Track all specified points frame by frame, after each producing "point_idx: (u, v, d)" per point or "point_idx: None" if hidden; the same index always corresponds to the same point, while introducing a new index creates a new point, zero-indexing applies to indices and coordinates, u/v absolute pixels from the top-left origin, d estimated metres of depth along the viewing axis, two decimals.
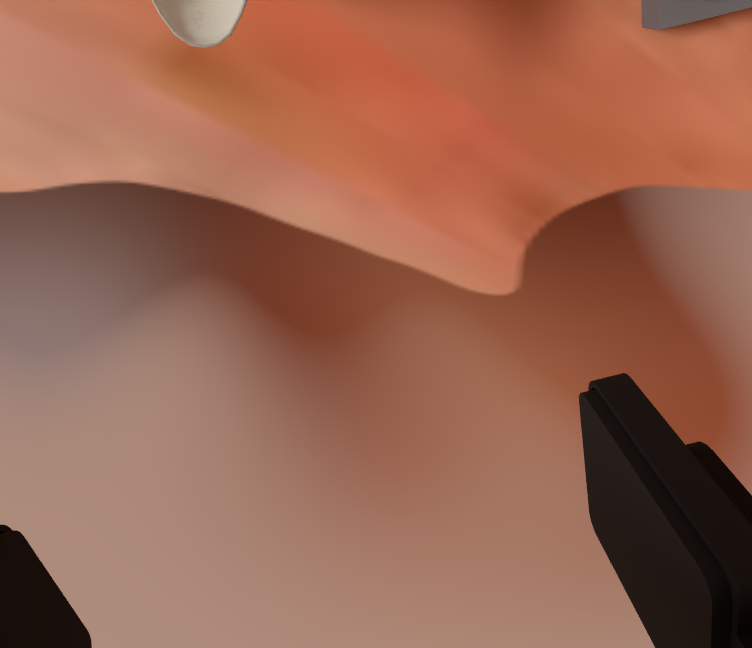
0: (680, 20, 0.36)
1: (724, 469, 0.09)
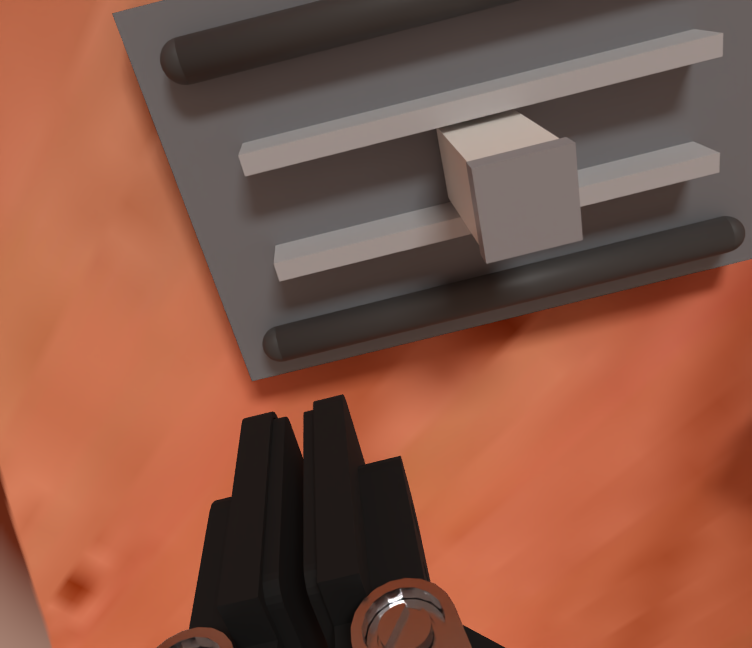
0: (131, 46, 0.24)
1: (405, 480, 0.10)
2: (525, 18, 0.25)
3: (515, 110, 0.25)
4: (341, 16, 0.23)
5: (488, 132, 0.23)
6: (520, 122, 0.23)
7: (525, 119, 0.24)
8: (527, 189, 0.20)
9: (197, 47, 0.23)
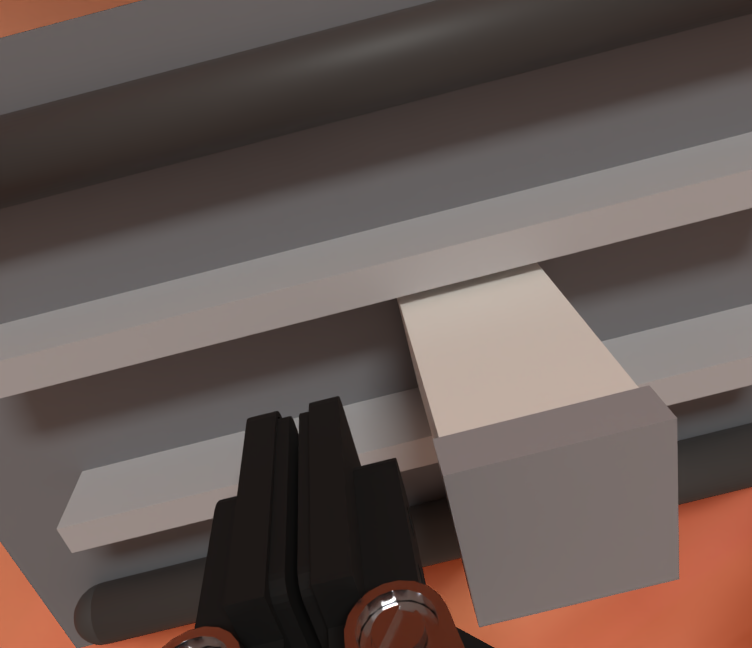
0: None
1: (400, 482, 0.10)
2: (484, 111, 0.14)
3: None
4: (119, 126, 0.12)
5: (483, 320, 0.12)
6: (543, 298, 0.12)
7: (552, 289, 0.13)
8: (566, 504, 0.09)
9: None
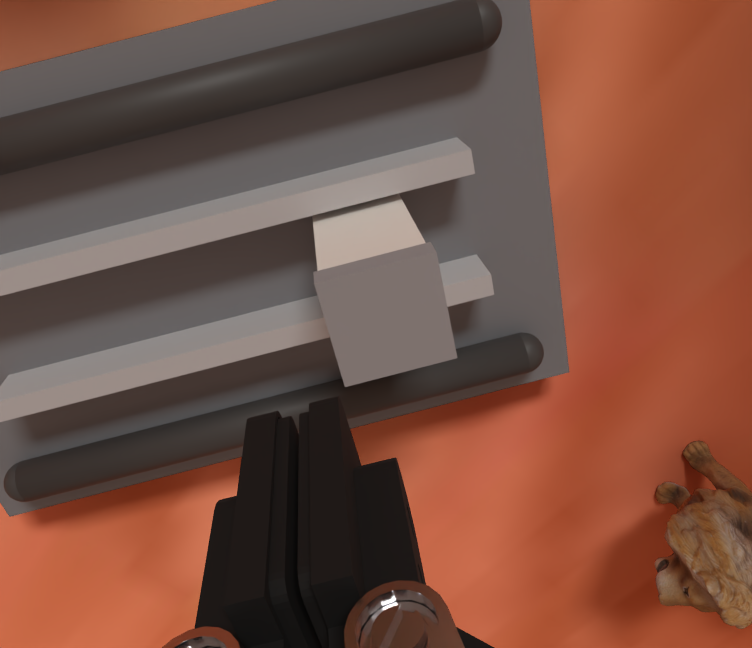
0: None
1: (400, 482, 0.10)
2: (257, 129, 0.22)
3: (398, 194, 0.22)
4: (17, 138, 0.20)
5: (358, 225, 0.20)
6: (396, 212, 0.20)
7: (402, 208, 0.21)
8: (384, 304, 0.17)
9: None
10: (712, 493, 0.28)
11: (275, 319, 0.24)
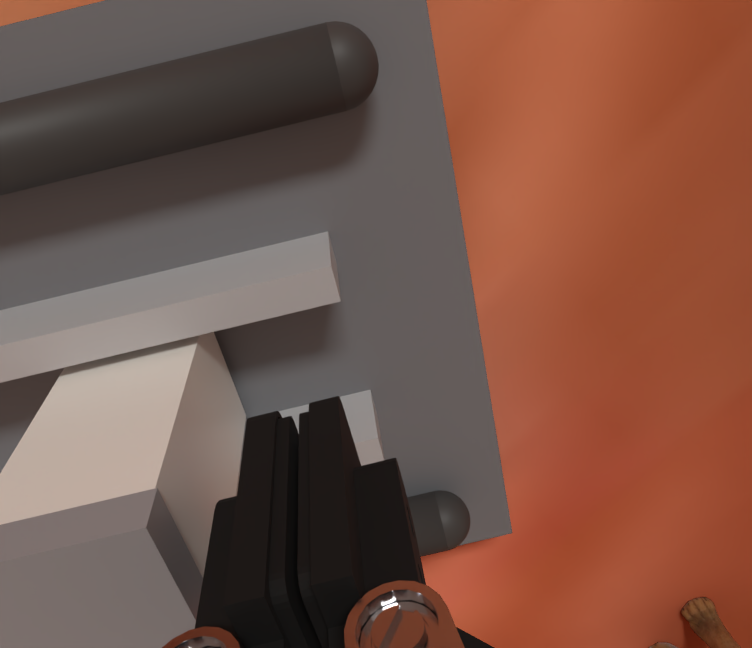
0: None
1: (400, 482, 0.10)
2: (11, 221, 0.14)
3: None
4: None
5: (105, 400, 0.13)
6: (169, 378, 0.13)
7: (184, 368, 0.13)
8: (67, 604, 0.10)
9: None
10: None
11: None
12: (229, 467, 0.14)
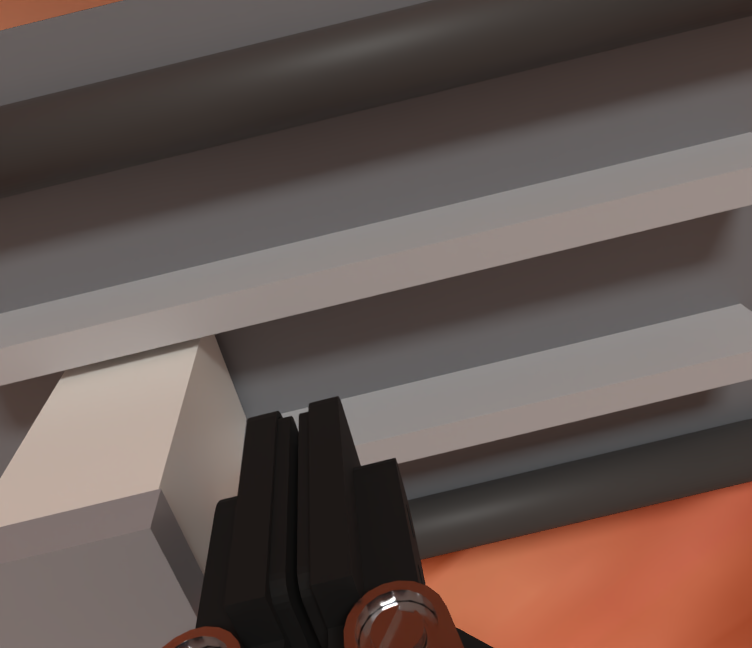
0: None
1: (400, 482, 0.10)
2: (456, 116, 0.14)
3: None
4: (94, 124, 0.12)
5: (106, 402, 0.13)
6: (171, 380, 0.13)
7: (186, 371, 0.13)
8: (70, 605, 0.10)
9: None
10: None
11: (456, 398, 0.16)
12: (229, 469, 0.14)
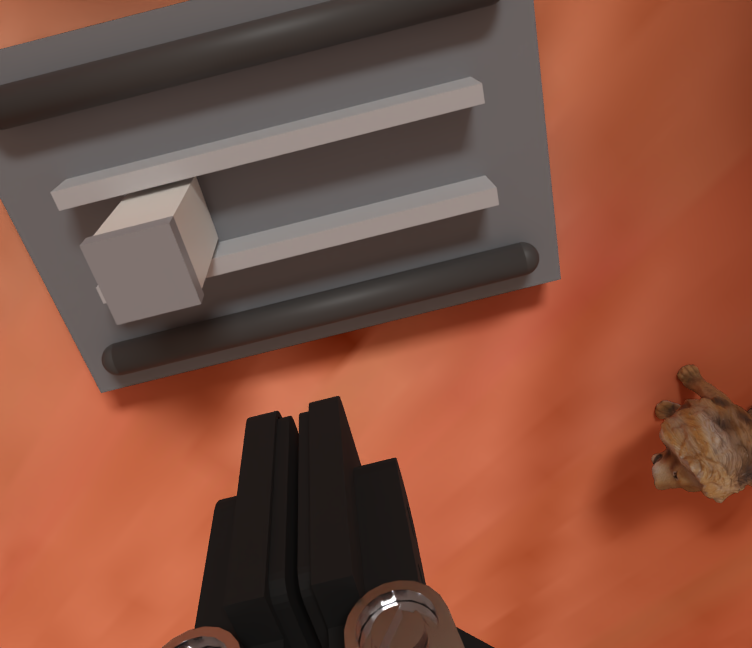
0: None
1: (400, 482, 0.10)
2: (313, 68, 0.27)
3: (192, 179, 0.28)
4: (132, 70, 0.25)
5: (146, 203, 0.26)
6: (177, 194, 0.26)
7: (184, 191, 0.27)
8: (136, 262, 0.23)
9: (3, 97, 0.25)
10: (698, 400, 0.35)
11: (323, 224, 0.29)
12: (207, 247, 0.28)
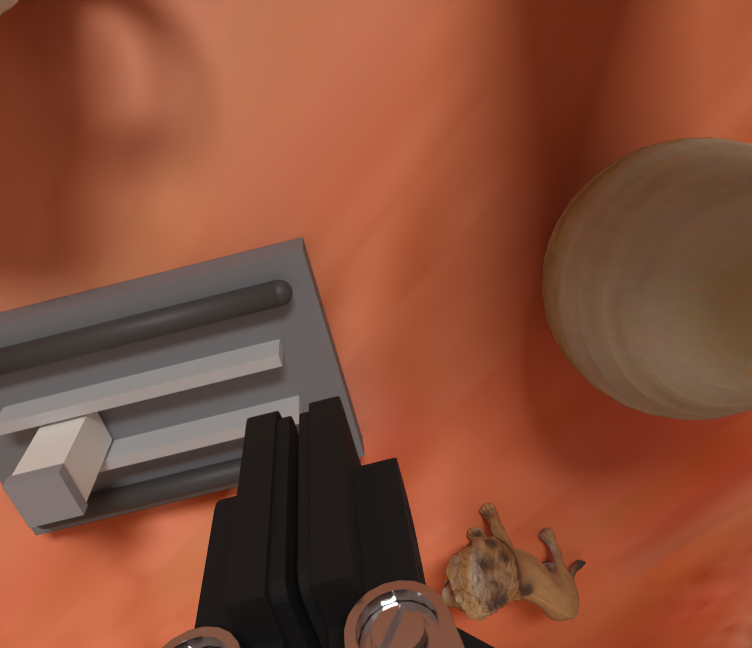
0: None
1: (400, 482, 0.10)
2: (169, 338, 0.41)
3: None
4: (42, 354, 0.39)
5: (53, 437, 0.39)
6: (74, 429, 0.39)
7: (79, 426, 0.40)
8: (39, 493, 0.36)
9: None
10: (477, 541, 0.48)
11: (183, 433, 0.43)
12: (97, 458, 0.41)
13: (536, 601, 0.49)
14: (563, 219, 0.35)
